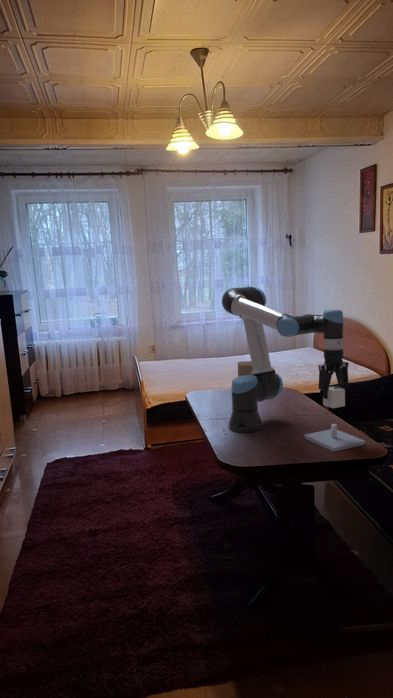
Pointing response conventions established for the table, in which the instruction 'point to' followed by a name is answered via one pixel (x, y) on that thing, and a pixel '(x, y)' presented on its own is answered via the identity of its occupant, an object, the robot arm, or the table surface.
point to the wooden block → (244, 368)
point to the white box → (336, 397)
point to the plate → (334, 439)
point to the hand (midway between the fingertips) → (333, 404)
